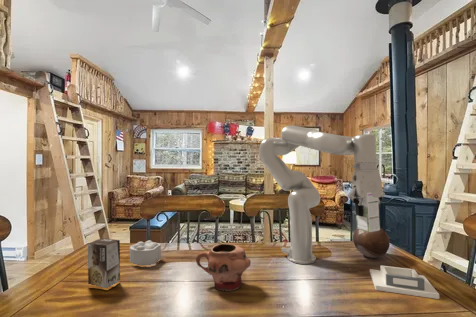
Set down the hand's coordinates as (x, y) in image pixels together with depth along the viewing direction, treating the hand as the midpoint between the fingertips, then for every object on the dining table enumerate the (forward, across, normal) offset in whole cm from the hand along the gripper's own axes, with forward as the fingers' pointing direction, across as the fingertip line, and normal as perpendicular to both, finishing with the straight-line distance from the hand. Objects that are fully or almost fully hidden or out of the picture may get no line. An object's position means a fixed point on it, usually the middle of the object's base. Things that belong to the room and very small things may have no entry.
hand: (367, 214), depth 95 cm
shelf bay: (+24, +8, -6) cm, 26 cm away
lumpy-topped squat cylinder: (+22, -84, +40) cm, 96 cm away
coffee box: (+23, -96, +21) cm, 101 cm away
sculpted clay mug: (+23, -54, +10) cm, 60 cm away
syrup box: (+6, 0, 0) cm, 6 cm away
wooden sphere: (+24, +17, +19) cm, 35 cm away
